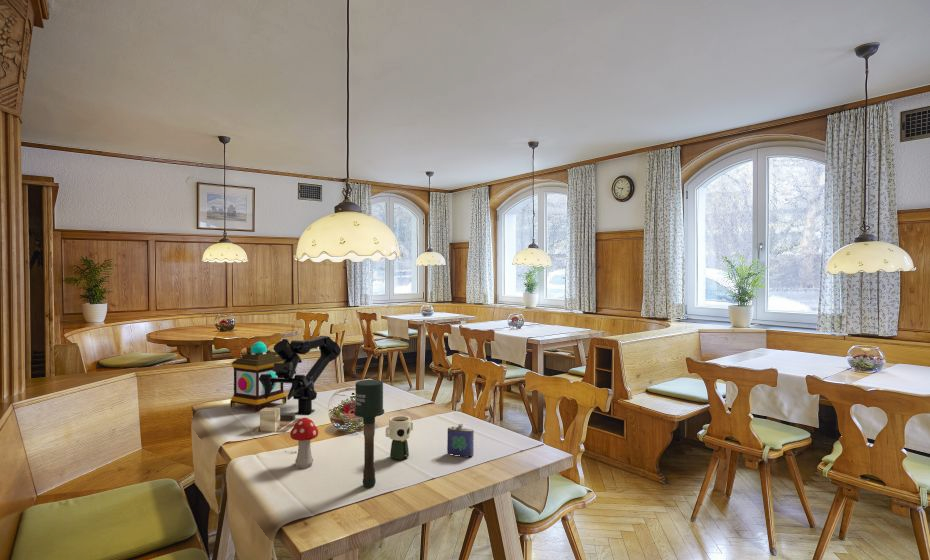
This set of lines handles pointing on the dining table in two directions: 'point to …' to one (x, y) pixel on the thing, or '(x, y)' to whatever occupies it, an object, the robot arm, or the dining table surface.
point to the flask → (460, 441)
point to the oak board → (282, 423)
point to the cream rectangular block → (270, 419)
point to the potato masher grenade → (369, 421)
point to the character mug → (399, 435)
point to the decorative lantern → (255, 378)
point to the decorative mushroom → (304, 441)
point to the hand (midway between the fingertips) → (276, 399)
